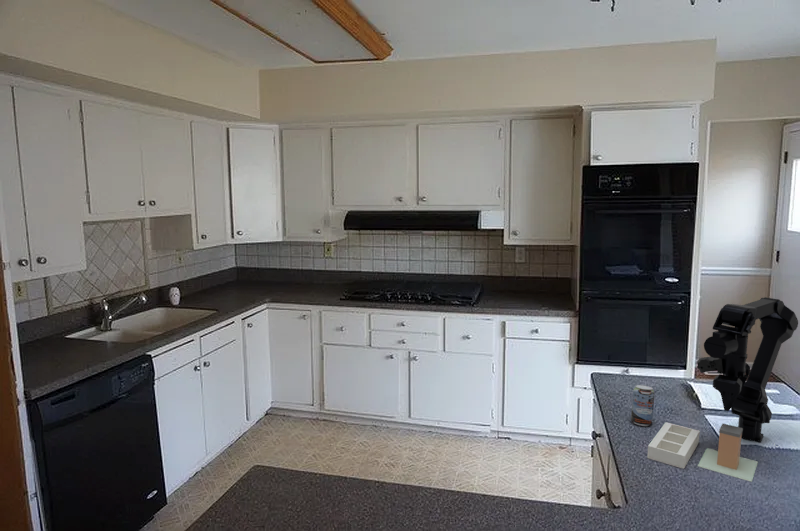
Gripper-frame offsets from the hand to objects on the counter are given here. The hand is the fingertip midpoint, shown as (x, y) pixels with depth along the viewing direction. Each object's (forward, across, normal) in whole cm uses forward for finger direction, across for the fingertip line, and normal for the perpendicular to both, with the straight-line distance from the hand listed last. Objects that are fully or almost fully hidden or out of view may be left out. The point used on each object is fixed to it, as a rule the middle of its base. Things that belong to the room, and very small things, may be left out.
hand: (729, 405), depth 149 cm
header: (+13, +10, -11) cm, 20 cm away
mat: (+13, +10, +2) cm, 17 cm away
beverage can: (+13, -2, -23) cm, 27 cm away
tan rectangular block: (+12, +10, +2) cm, 16 cm away
